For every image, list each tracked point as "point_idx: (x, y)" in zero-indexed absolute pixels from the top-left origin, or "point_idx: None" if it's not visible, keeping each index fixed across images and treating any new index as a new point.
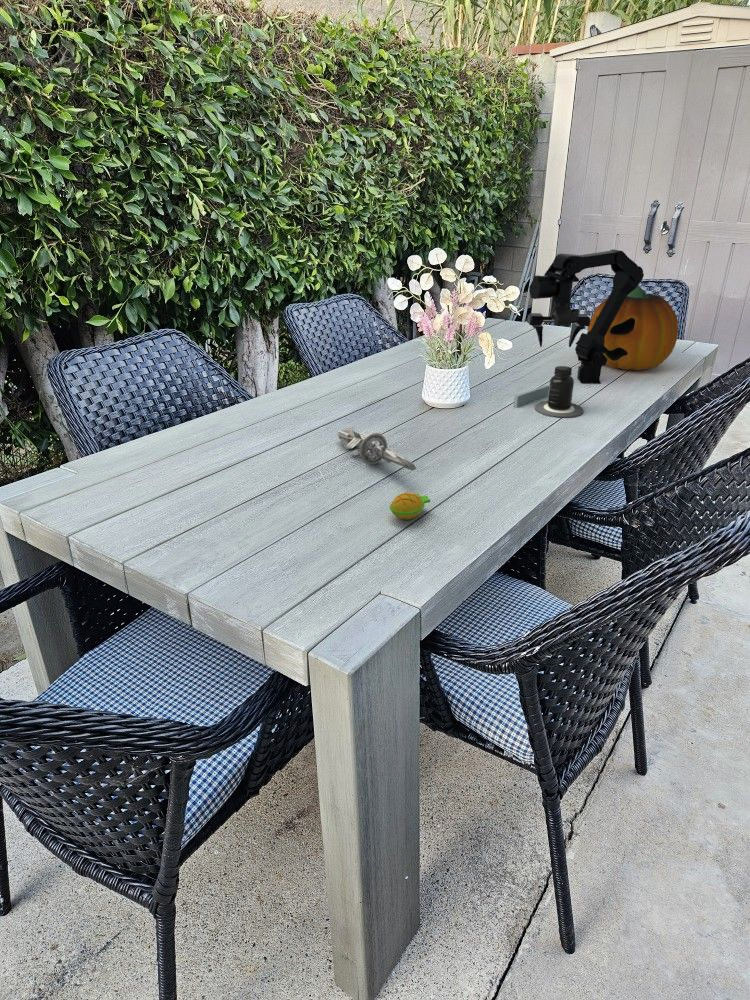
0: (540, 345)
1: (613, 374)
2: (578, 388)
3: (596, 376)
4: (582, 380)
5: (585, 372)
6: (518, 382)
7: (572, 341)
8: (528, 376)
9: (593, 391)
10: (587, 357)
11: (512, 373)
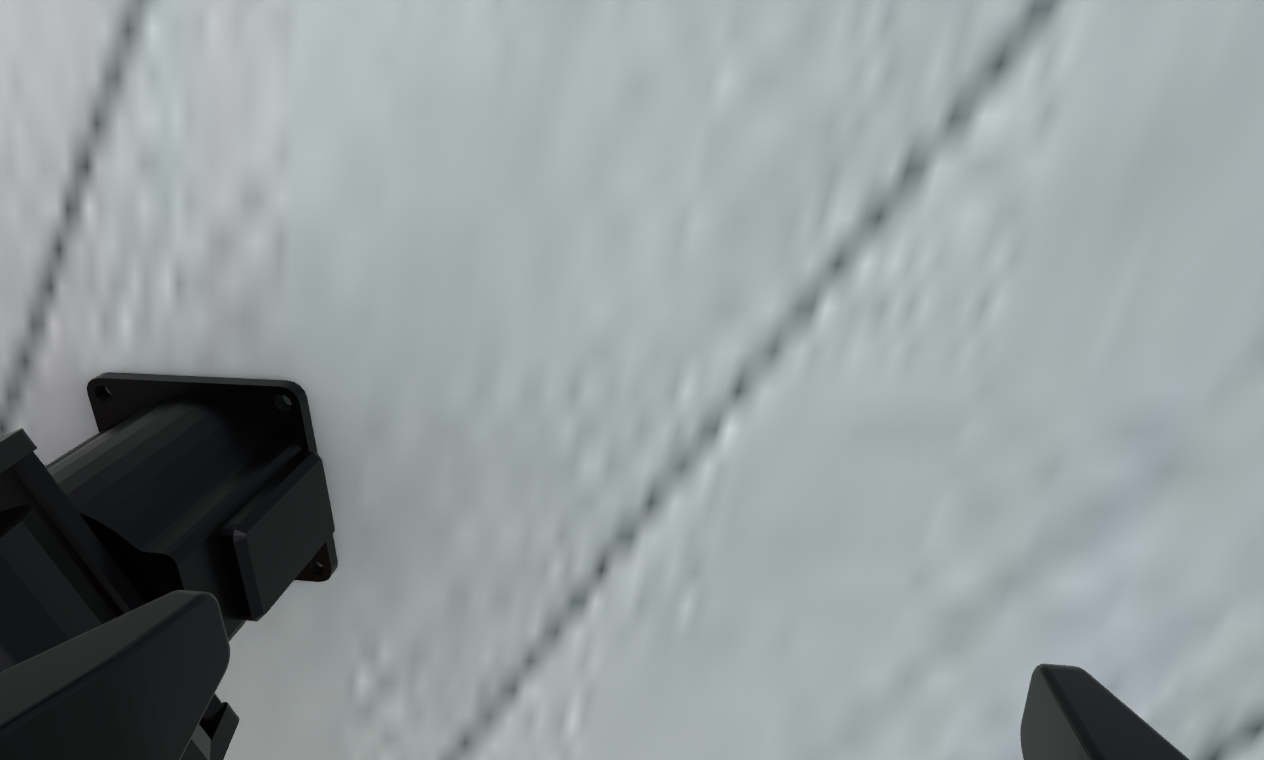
0: (1103, 687)
1: None
2: (349, 200)
3: (97, 437)
4: (281, 437)
5: (201, 479)
6: (1093, 435)
7: (11, 678)
8: (878, 649)
9: (173, 78)
10: (11, 525)
11: None
